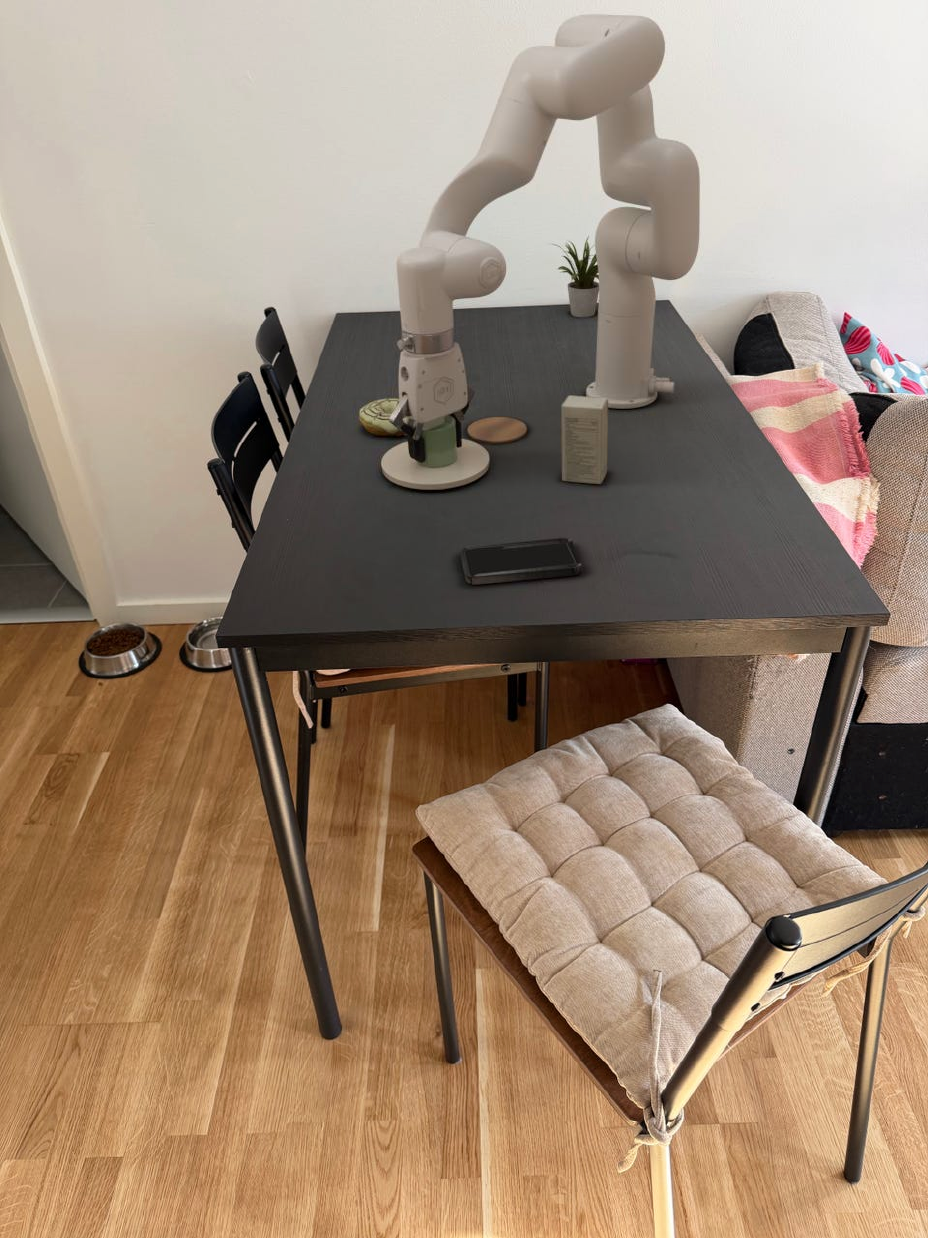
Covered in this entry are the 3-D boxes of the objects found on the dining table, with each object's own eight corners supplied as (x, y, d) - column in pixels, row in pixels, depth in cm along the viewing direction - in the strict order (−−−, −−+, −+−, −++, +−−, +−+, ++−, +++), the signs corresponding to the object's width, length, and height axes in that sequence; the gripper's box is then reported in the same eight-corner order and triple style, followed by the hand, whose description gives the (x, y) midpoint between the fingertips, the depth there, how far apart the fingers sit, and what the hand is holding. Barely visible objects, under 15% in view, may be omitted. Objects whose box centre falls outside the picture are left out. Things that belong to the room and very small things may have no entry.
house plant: (541, 323, 205) (542, 244, 196) (547, 304, 216) (548, 228, 207) (608, 324, 203) (612, 245, 193) (610, 304, 214) (614, 228, 205)
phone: (582, 567, 121) (466, 577, 120) (582, 574, 122) (466, 585, 121) (570, 536, 128) (459, 546, 127) (570, 543, 128) (460, 553, 127)
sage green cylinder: (463, 451, 150) (461, 415, 146) (448, 469, 145) (446, 433, 141) (424, 446, 152) (421, 411, 148) (409, 464, 147) (405, 428, 143)
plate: (503, 451, 153) (503, 442, 152) (469, 499, 140) (468, 489, 139) (406, 440, 158) (405, 431, 157) (364, 485, 145) (363, 476, 144)
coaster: (533, 422, 162) (533, 420, 162) (516, 446, 155) (517, 444, 154) (478, 416, 165) (478, 414, 165) (459, 439, 158) (459, 437, 157)
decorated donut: (397, 445, 157) (395, 423, 155) (348, 431, 162) (346, 410, 160) (435, 422, 164) (433, 401, 162) (386, 410, 169) (384, 390, 167)
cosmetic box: (607, 473, 145) (611, 397, 138) (601, 485, 142) (604, 408, 135) (566, 468, 147) (568, 393, 140) (559, 480, 144) (560, 404, 137)
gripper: (396, 361, 131) (406, 478, 141) (490, 330, 139) (493, 442, 150) (364, 348, 135) (377, 462, 146) (457, 319, 144) (462, 428, 155)
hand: (436, 451), depth 148 cm, fingers closed on sage green cylinder, 6 cm apart
